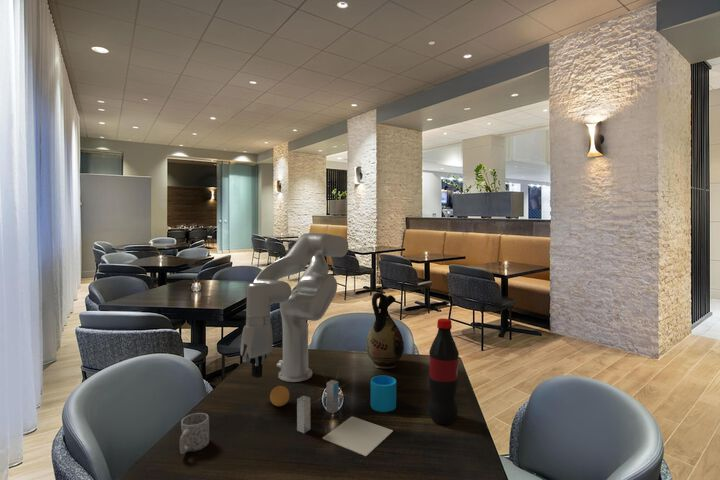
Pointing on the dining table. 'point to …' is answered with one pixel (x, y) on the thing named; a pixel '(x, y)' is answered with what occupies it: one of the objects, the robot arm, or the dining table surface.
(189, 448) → the mug
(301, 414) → the post
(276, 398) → the ball
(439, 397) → the cola bottle
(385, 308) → the ceramic jug
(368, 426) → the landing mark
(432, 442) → the dining table surface
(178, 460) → the dining table surface
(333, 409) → the post
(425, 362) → the dining table surface
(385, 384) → the mug
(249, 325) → the robot arm
